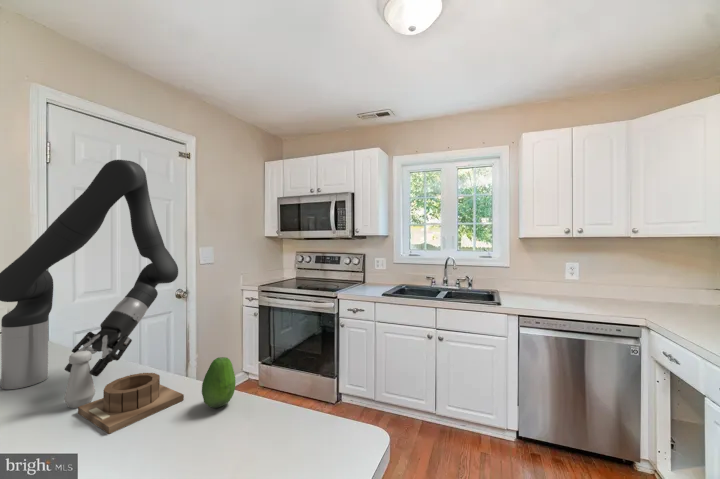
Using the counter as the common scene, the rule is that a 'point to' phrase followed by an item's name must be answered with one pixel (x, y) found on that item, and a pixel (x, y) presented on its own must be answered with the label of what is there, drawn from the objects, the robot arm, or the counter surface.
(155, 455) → the counter surface
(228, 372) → the avocado
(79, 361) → the salt shaker
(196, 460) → the counter surface
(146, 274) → the robot arm
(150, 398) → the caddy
